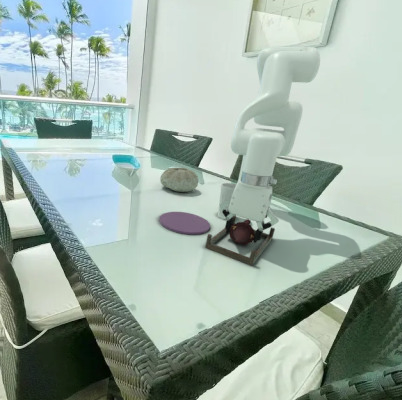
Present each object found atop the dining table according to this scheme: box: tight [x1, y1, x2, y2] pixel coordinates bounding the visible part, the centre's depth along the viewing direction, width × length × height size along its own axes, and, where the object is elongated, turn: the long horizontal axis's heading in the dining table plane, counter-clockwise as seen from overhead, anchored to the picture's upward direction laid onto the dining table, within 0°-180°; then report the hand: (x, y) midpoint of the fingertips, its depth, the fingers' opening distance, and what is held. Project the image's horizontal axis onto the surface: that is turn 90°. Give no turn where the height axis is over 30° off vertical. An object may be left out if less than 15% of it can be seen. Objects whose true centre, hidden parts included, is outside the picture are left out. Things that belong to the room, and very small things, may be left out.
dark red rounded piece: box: [229, 218, 255, 246], centre depth 81 cm, size 7×7×15 cm
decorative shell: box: [159, 167, 199, 193], centre depth 129 cm, size 18×18×10 cm
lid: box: [158, 211, 211, 236], centre depth 93 cm, size 17×17×1 cm
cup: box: [217, 182, 237, 221], centre depth 100 cm, size 8×8×12 cm
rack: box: [205, 215, 276, 267], centre depth 81 cm, size 21×13×4 cm, turn 140°
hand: (241, 236), depth 81 cm, fingers closed on dark red rounded piece, 7 cm apart
